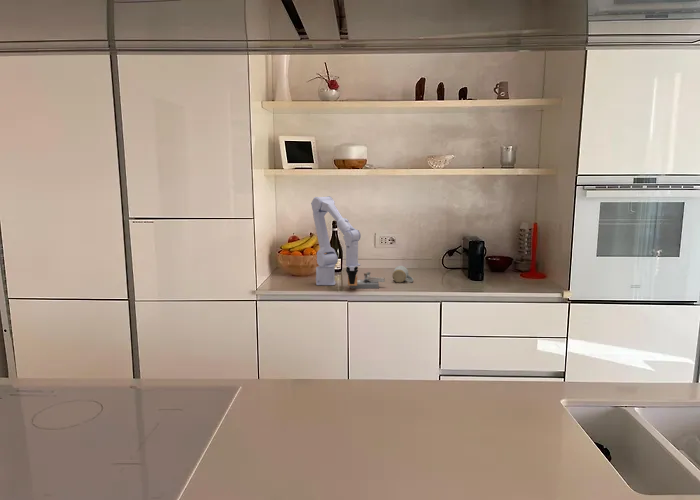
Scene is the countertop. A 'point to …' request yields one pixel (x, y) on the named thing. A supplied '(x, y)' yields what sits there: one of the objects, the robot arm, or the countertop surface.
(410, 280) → the ceramic mug
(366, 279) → the lever handle
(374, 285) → the box
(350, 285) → the orange cube
